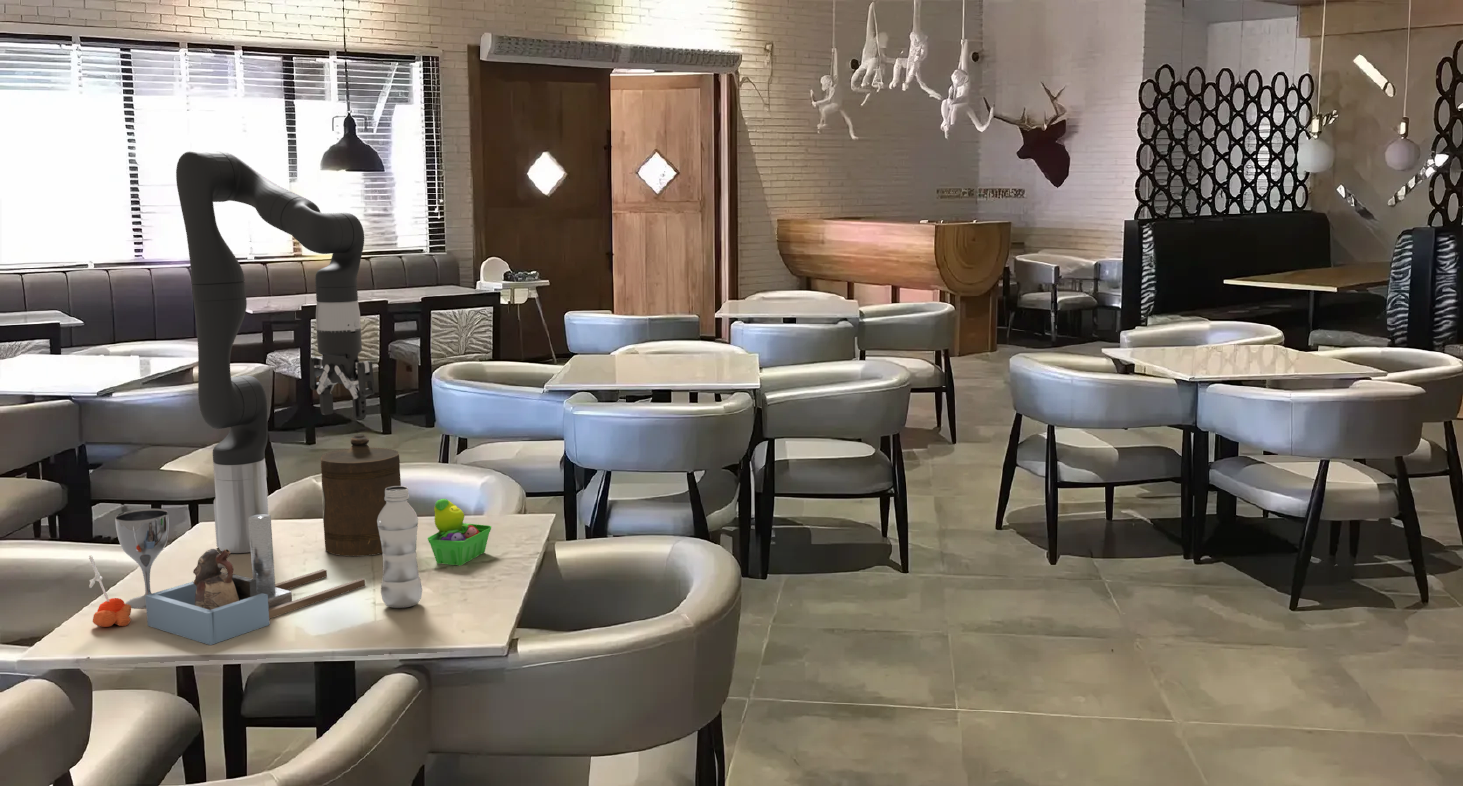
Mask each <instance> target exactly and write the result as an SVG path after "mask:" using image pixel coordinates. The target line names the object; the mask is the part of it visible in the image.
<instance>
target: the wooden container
mask: <svg viewBox="0 0 1463 786" xmlns="http://www.w3.org/2000/svg"><path fill="white" fill-rule="evenodd" d="M369 441H370V439H369V437H368V436H367V435H365V434H363V433H358V434H354V435H353V436H351V438H350V444H351V447H350V448H344V449H338V450H333V451H330V452H327V453H324V454H322V455H321V456H320V470H321V471H320V472H321V500H322V505H321V506H322V519H323V520H322V522H323V532H324V535H323V536H324V537H323V538H324V549H325V550H326V552H327V553H329V554H332V555H336V556H341V557H342V556H343V557H365V556H366V557H367V556H374V555H381V554H383V552H382V546H381V540H380V535H379V530H378V525H377V519H378V515H379V514H380V512H381V510H382V509H383V507H384V506H385V505H386V501H385V500H384V497H385V489H386V488H388V487H393V486H402V483H401V468H400V467H401V461H400V454H399V453H400V452H399V451H397V450H395V449H391V448H388V447H386V448H385V447H370V446H369V445H368V443H369Z"/></svg>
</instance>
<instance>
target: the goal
mask: <svg viewBox="0 0 1463 786" xmlns="http://www.w3.org/2000/svg"><path fill="white" fill-rule="evenodd" d="M193 582H194V580H193V581H190V582H187V583H183V584H180V585H176V586H174V587H170V588H166V589H164V590H163V589H162V590H160V591H157V592H153V593H152V592H151V593H152V594H149V595H145V594H144V595H145V598H146V608H145V609H146V619H147V627H150V628H154V629H157V630H161V631H163V632H166V633H170V634H173V635H177V636H179V637H183V638H186V639H188V640H192V641H194V642H198V643H202V644H206V645H208V646H212V645H215V644H219V643H222V642H224V641H226V640H229V639H232V638H234V637H238V636H242V635H244V634H247V633H249V632H253V631H255V630H258V629H261V628H264V627H267V626H270V618H269V609H268V595H267V594H264V593H262V594H259V595H256V596H252V597H249V598H246V599H243V600H240V601H237V602H234V603H230V604H227V605H224V606H221V607H218V608H215V609H212V610H208V609H205V608H201V607H198V606H195V593H196V589H197V586H196V585H195V584H193Z"/></svg>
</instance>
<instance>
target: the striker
mask: <svg viewBox="0 0 1463 786" xmlns="http://www.w3.org/2000/svg"><path fill="white" fill-rule="evenodd" d="M271 518H272V516H271V515H270V514H268V515H267V514H260V515H254V516H250V517H249V532H250V547H251V552H250V559H251V562H250V563H251V574H252V577H248V576H243V575H238V574H234V573H233V577H232V581H233V583H234V585H235V588H236V591H237V594H238V598H239V601H240V600H243V599H246V598H249V597H252V596H256V595H259V594H262V593H264V594H267V595H268V609H270V608H273V607H276V606H279V605H282V604H285V603H288V602H291V601H293V592H292V591H291V590H289V589H287V590H284V589H280V588H276V587H275V584H276V580H275V579H276V578H275V565H274V563H275V562H274V561H275V560H274V546H273V534H272V533H273V531H272V519H271ZM226 574H227V575H228V572H227V573H226Z"/></svg>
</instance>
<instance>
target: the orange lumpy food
mask: <svg viewBox="0 0 1463 786" xmlns="http://www.w3.org/2000/svg"><path fill="white" fill-rule="evenodd" d="M88 557H89V558H88V559H89V562H90V564H91V566H92V569H93V571H94V577H93V578H92V579H89V586H88V587H89V589H92V587H93V586H94V585H95V583H96V582H99V586H100V588H101V590H102V592H103V593H102V594H104V597H105V599H106V600H105V601H104V602H102V603H101V604H99V606H98V608H97V611H96V612H94V614H93V617H92V623H93V624H94V625H95V626H99V627H103V628H108V627H109V628H110V627H113V625H114V624H115V625H117V626H119V627H126V626H128V625H129V624H130V623H131V621H132V620H131V618H130V616H131V613H132V608H131V605H128V604H125V603H126V602H125V601H124V600H123V599H121V598H119V597H112V598H109V596H108V594H107V592H106V589H105V587H104V584H103V581H102V580H103V576H101V574H100V572H99V570H98V568H97V565H96V562H95V560H94V557H93V556H92V555H89V556H88Z"/></svg>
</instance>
